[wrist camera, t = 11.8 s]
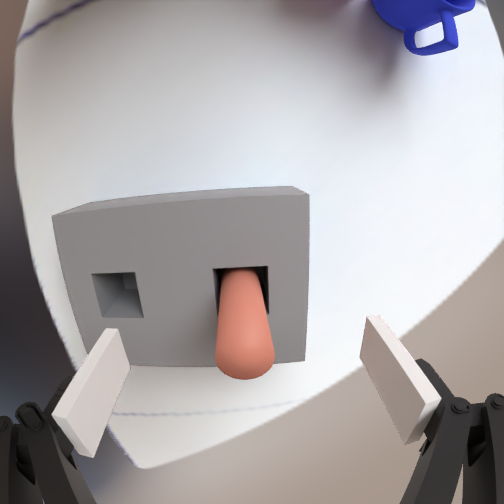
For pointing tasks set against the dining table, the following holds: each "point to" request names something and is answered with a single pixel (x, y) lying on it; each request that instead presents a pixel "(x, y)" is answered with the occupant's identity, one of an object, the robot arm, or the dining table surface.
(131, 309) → the hole block
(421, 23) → the mug
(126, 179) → the dining table surface
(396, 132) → the dining table surface
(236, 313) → the pin
